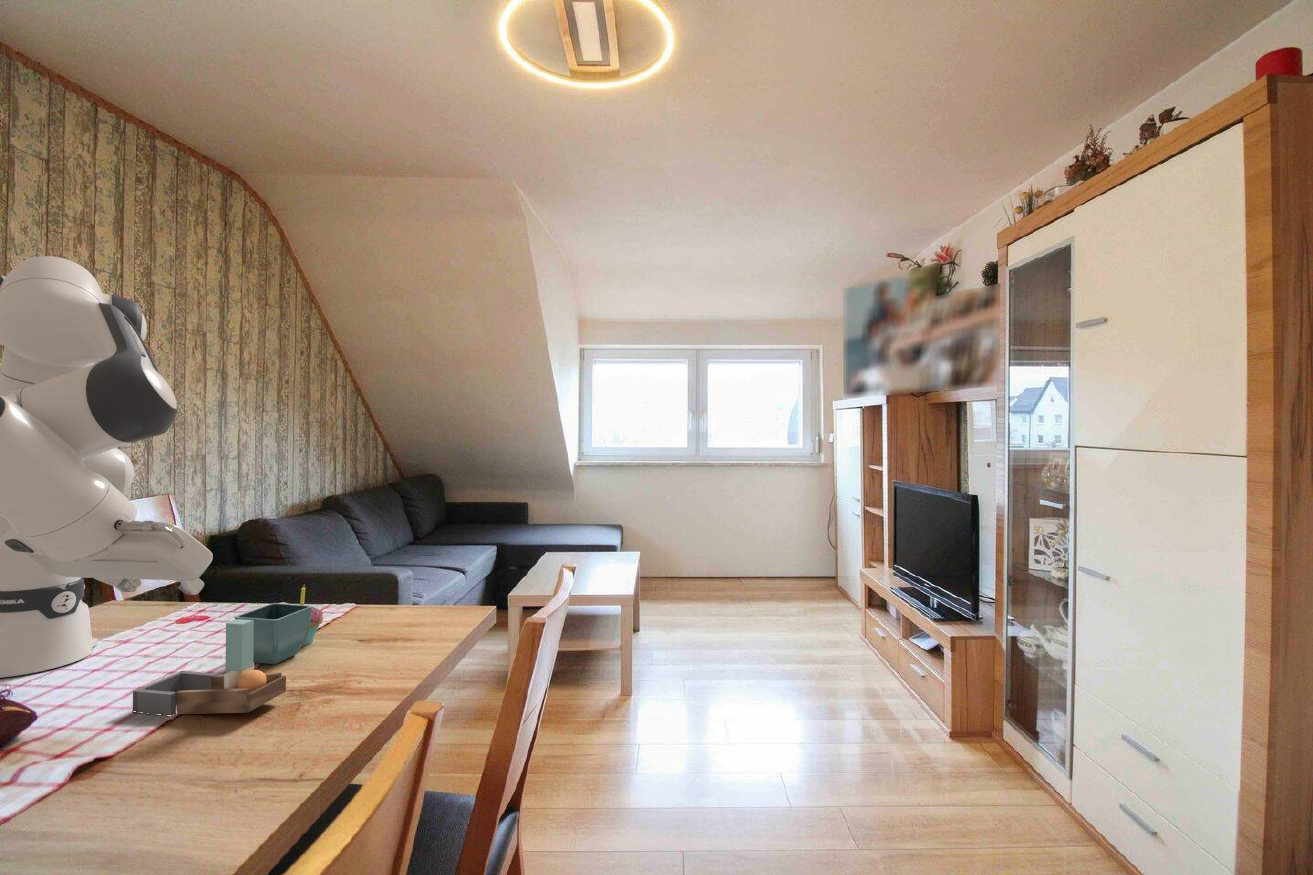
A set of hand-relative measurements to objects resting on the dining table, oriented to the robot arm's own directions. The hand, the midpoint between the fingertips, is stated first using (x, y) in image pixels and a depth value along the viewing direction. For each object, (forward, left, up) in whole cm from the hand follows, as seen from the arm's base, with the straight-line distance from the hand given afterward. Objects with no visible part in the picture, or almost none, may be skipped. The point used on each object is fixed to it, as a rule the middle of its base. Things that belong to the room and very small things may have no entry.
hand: (164, 588), depth 76 cm
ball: (+2, +12, -17) cm, 21 cm away
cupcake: (-13, +38, -21) cm, 46 cm away
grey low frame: (-11, +12, -21) cm, 27 cm away
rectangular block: (0, +12, -19) cm, 22 cm away
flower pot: (-11, +30, -21) cm, 38 cm away
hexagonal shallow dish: (-2, +12, -21) cm, 24 cm away
